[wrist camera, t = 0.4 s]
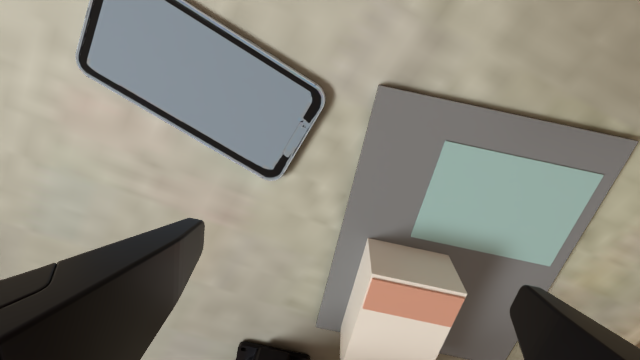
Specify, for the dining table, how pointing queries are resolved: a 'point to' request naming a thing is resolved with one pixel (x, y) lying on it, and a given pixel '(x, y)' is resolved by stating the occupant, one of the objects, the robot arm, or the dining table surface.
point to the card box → (400, 304)
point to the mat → (472, 204)
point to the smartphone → (201, 79)
